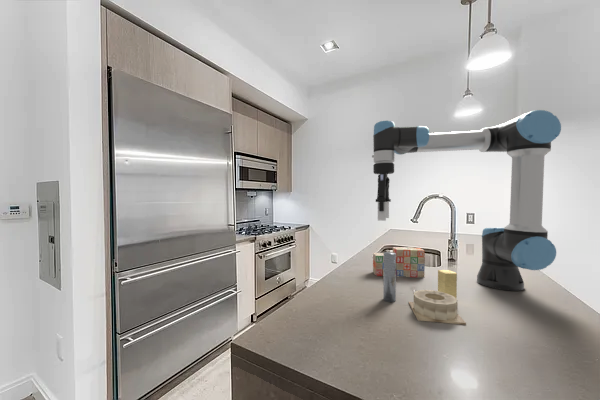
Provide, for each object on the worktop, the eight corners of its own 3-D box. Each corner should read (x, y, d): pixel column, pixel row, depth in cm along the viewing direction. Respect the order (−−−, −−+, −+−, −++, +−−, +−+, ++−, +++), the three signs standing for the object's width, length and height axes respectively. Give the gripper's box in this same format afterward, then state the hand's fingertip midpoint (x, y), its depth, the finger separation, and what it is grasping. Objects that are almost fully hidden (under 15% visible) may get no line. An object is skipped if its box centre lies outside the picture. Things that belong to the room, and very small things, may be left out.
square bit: (448, 298, 90) (449, 269, 90) (456, 303, 86) (456, 273, 86) (437, 298, 90) (437, 270, 90) (444, 303, 86) (445, 273, 86)
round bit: (394, 298, 90) (394, 252, 90) (396, 302, 86) (396, 254, 86) (382, 297, 91) (383, 251, 91) (384, 301, 87) (384, 254, 87)
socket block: (449, 306, 83) (449, 291, 83) (466, 324, 71) (466, 306, 71) (408, 303, 86) (408, 288, 86) (417, 320, 74) (417, 302, 74)
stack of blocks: (375, 276, 116) (375, 248, 116) (372, 272, 123) (372, 246, 122) (424, 277, 114) (425, 249, 114) (419, 273, 120) (419, 247, 120)
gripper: (377, 167, 111) (377, 216, 111) (368, 159, 88) (368, 221, 88) (396, 166, 108) (395, 217, 108) (391, 157, 85) (391, 222, 85)
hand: (383, 219), depth 98 cm, fingers open, 13 cm apart
